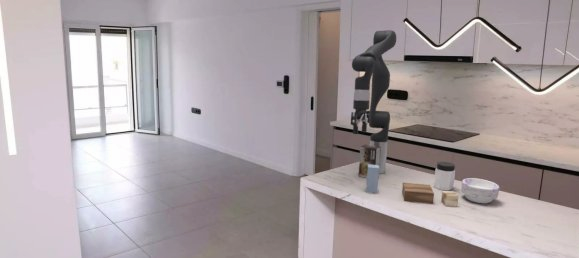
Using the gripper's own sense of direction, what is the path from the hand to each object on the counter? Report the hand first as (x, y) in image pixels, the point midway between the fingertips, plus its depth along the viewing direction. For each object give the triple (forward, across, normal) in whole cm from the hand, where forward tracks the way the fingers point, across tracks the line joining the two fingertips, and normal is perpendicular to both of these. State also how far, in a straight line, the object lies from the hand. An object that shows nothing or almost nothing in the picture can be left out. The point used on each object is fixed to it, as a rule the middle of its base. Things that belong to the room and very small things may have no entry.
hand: (359, 133), depth 193 cm
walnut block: (+26, -2, +29) cm, 40 cm away
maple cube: (+27, -4, +43) cm, 51 cm away
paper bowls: (+26, -19, +51) cm, 61 cm away
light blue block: (+26, +4, +10) cm, 28 cm away
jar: (+26, -25, +34) cm, 49 cm away
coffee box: (+25, -15, -2) cm, 29 cm away
